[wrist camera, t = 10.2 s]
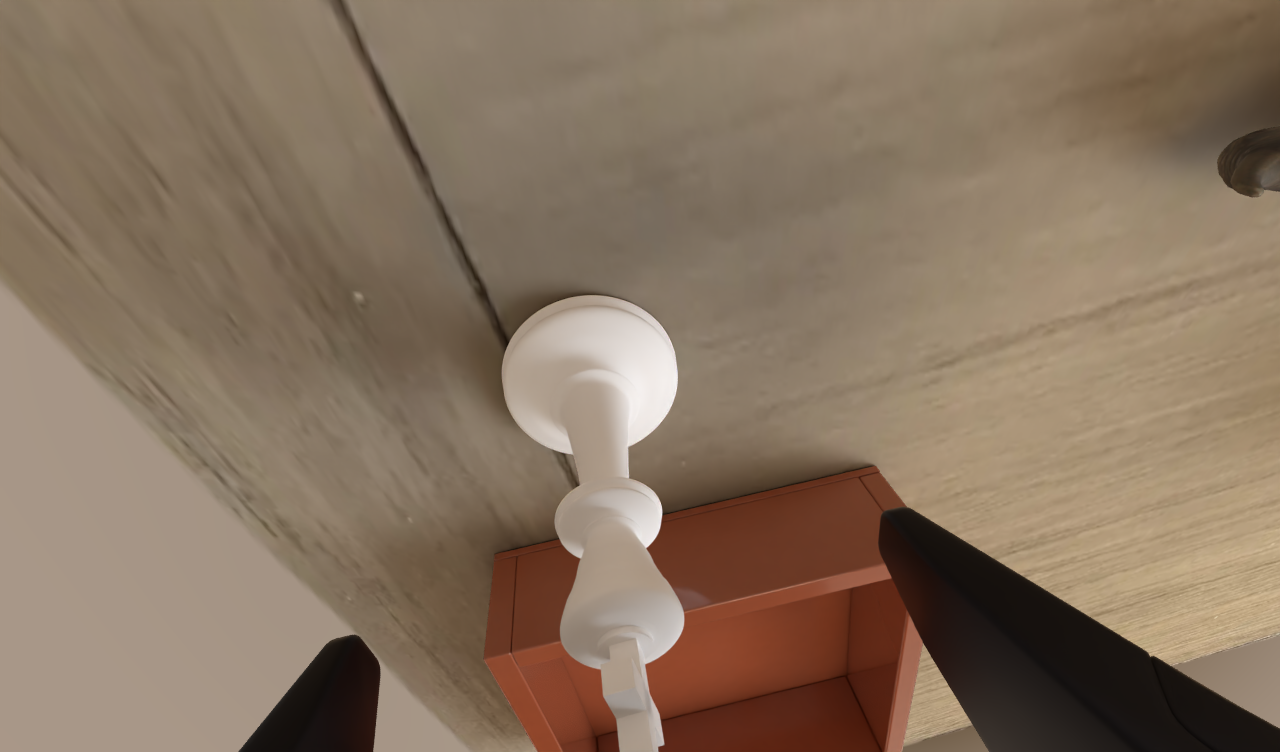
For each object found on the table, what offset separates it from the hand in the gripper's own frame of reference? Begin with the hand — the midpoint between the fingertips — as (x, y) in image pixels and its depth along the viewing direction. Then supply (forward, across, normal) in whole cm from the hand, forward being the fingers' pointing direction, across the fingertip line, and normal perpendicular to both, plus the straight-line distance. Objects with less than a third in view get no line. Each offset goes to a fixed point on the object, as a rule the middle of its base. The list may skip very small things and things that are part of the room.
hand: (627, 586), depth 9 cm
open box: (+7, -2, +13) cm, 15 cm away
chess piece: (+8, 0, 0) cm, 8 cm away
